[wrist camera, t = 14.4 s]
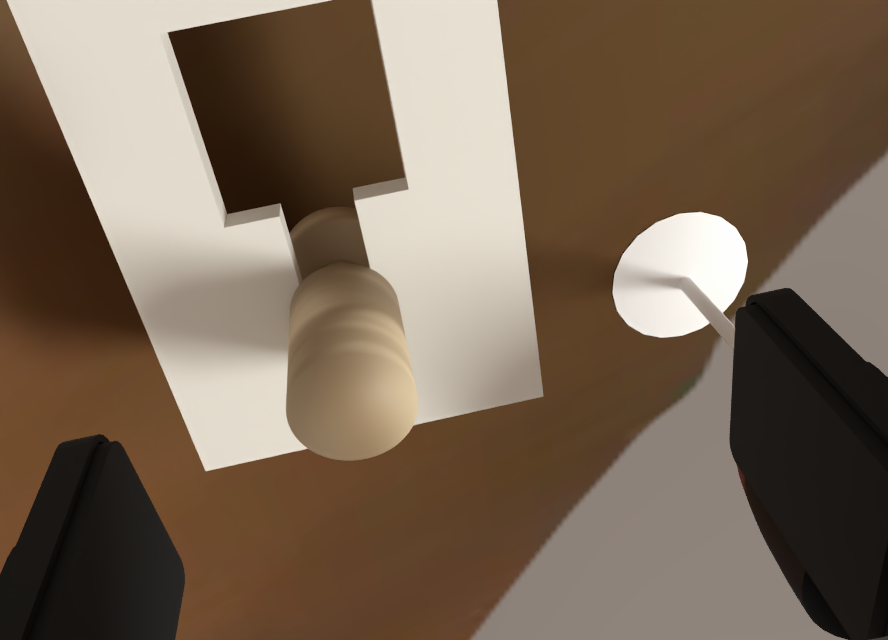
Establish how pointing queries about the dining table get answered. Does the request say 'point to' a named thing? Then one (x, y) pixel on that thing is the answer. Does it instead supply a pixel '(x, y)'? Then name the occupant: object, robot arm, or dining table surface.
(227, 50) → the dining table surface
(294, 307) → the peg
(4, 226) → the dining table surface
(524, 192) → the dining table surface
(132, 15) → the keyhole shelf
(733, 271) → the wineglass
